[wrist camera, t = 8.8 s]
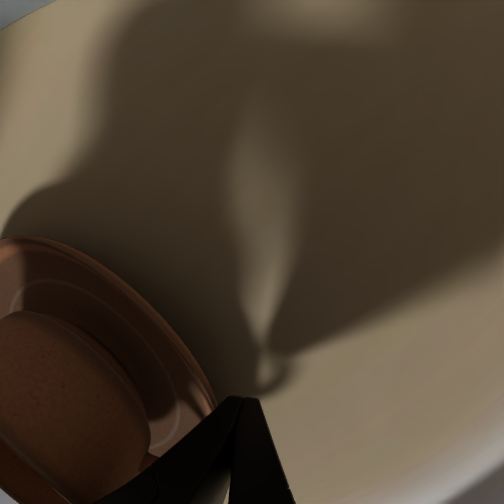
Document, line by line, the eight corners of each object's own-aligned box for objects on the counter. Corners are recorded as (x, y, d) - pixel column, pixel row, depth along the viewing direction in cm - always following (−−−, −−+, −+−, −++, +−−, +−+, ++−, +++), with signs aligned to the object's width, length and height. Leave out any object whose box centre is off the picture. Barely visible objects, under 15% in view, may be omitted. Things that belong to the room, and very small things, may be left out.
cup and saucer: (225, 220, 8) (89, 352, 3) (239, 481, 12) (213, 591, 6) (-27, 226, 10) (-129, 269, 4) (42, 426, 13) (-11, 490, 8)
